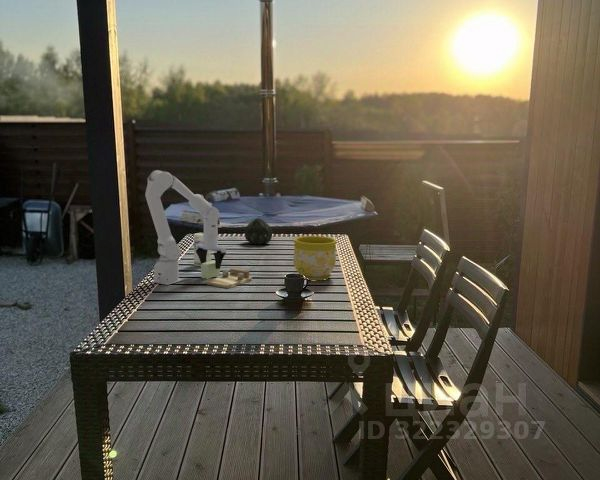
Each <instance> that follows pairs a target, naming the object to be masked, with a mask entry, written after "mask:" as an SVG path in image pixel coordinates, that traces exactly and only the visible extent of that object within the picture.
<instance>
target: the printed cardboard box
mask: <svg viewBox="0 0 600 480" xmlns="http://www.w3.org/2000/svg"><path fill="white" fill-rule="evenodd" d="M198 243H199V244H204V232H197V233H194V234H193V266H195V267H201V262H200V259H199V257H198V255H197V253H196V250H198V249H196V244H198ZM210 261H212V251H211V250H208V251H207V256H206V262H210Z"/></svg>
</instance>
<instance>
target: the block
mask: <svg viewBox="0 0 600 480" xmlns="http://www.w3.org/2000/svg"><path fill="white" fill-rule="evenodd" d="M220 275H221V268H220V269H216V267H215V259H214V260H211V261H210V262H206V263H202V264H201V266H200V278H201V279H205V278H206V279H205V280H210V279H212V277H213V278H215V277H216V278H217V277H220Z"/></svg>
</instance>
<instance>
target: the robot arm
mask: <svg viewBox="0 0 600 480" xmlns="http://www.w3.org/2000/svg"><path fill="white" fill-rule="evenodd" d="M168 189H174V190H175V191H177V193H179V194H180V195H181V196H183V197H184V198H185V199H187V200H188V205H189V206H190V207H191V208H192V209H194V210H195V211H196V212H197V213H199V214H200V215H201V218H203V233H204V244H199V243H198V244H196V249H198V250H196V253H197V255H198V257H199V259H200V262H201V264H202V263H206V256H207V251H208V250H211V252H213V257H214V261H215V267H216V269H220V270H221V266H222V262H223V259H224V257H225V256H226V254H227V247H225V246H222V245H219V242H218V239H219V238H218V232H219V231H218V220H219V219H220V217H221V213H220V211H219V209H218V208H217V207H214V206H212V205H213V203H212V202H210V201H209V202H208V201H207V200H206V199H205V198H204V195H203V194H199V193H196V194H194V192H192V191H191V190H190V189H189V188H188V187H187V186H186V184H184V183H182V181H180V180H179V179H178V178H177V177H176V176H174V175H173V174H171V172H168V171H163V170H160V169H156V170H153V171H152V172H151V173H150V175H149V176H148V177H147V186H146V189H145V193H144V194H145V195H144V196H145V199H146V202H147V206H148V209H149V212H150V216H151V218H152V221H153V224H154V228H155V231H156V234H157V237H158V238H157V241H156V242H157V245H158V246H157V252H158V255H160V256H159V261H158V262H156V263H155V264H154V266H153V275H154V276H153V277H154V278H153V280H152V282H153V283H157V284H160V285H166V286H168V285H172V284H176V283H178V282H182V281H184V278H180V277H179V274H180V273H179V272H180V271H179V269H180V268H179V258H180V256H181V254H182V252H181V248H180V246H179V245H178V244H177V242H176V240H175V238H174V237H173V235H172V233H171V228H170V225H169V222H168V218H167V215H166V212H165V209H164V206H163V203H162V200H161V198H162V196H163V194H164V193H165V191H167V190H168Z"/></svg>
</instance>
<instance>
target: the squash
mask: <svg viewBox="0 0 600 480" xmlns="http://www.w3.org/2000/svg"><path fill="white" fill-rule="evenodd" d="M244 237H245V240H246V241H247V242H249V243H250V244H252V245H255V246H256V245H258V246H261V245H266V244H268V243H269V242H270V241H271V240H272V238H273V230H272V228H271V226H270V224H269V223H267V222H266V221H264V220H263V219H261V218H256V219H253V220H252V221H251V222H249V223H247V226H246V227H245V229H244Z"/></svg>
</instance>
